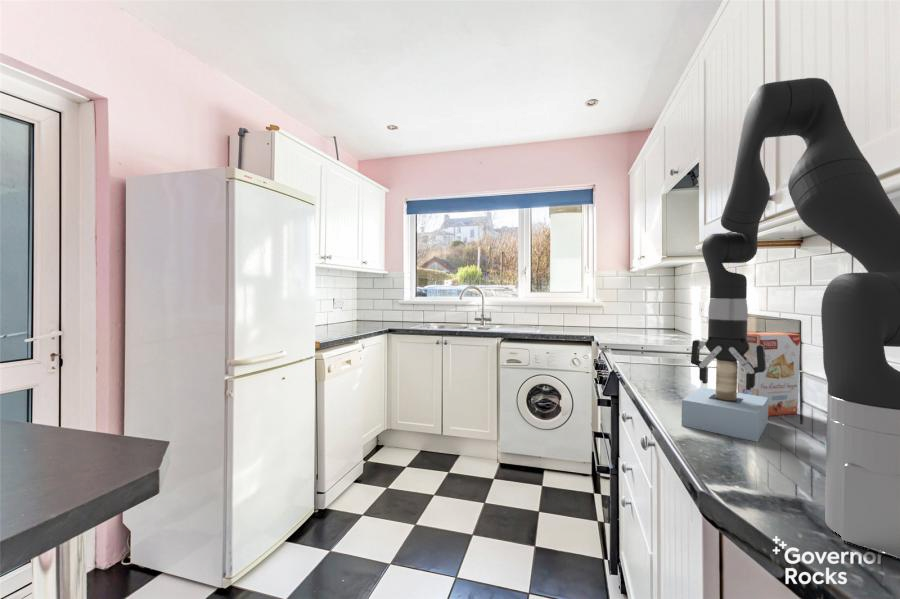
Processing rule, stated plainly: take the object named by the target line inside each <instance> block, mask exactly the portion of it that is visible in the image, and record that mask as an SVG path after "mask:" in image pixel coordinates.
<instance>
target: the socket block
mask: <svg viewBox="0 0 900 599" xmlns="http://www.w3.org/2000/svg"><path fill="white" fill-rule="evenodd" d="M715 396H716V388H715V389H714V388H707V387H701V386H700V387H699V388H697V389H696V390H695V391H693V392H692V393H690V394H689V395H687V396H686V397H684V398H682V400H681V426H682V427H687V428H690V429H691V428H692V429H696V430H700V429H701V430H700V431H706V432H710V433H715V434H718V435H719V434H720V435H724V436H728V437H734V438H737V439H742V440H748V441H752V442H759V440H760V438H761V436H762V434H763V433H764V431H765V429H766V427H767V425H768V424H769V416H768V399H769V397H762V396H756V395H749V394H742V393H738V392H737V401H736V403H732V402H726V401H720V400H716V398H715Z"/></svg>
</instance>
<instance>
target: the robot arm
mask: <svg viewBox="0 0 900 599" xmlns="http://www.w3.org/2000/svg"><path fill="white" fill-rule="evenodd" d="M742 122H743V123H742V126H741V127H742V128H741V133H740V139H739V144H738V149H737V155H736V161H735V168H734V174H733V178H732V179H733V180H732V183H731V188H730V191H729V194H728V197H727V200H726V202H725V207H724V209H723V211H722V215H721V219H720V224H721V227H722V228H723V229H725V230H726V231H729V232H726V233H725V232H724V233H722V232H721V233H718V232H717V233H711V234H709V235H708V236H706V238H704V240H703V242H702V245H701V252H702V257H703V260H704V263H705V265H706V269H707V272H708V276H709V287H710V288H709V289H710V291H709V293H710V294H709V302H708V304H709V305H708V319H707V320H708V321H707V322H708V323H707V324H708V326H707V340H706V341H704V340H703V341H702V340H700V339H694V340H693V341H692V344H691V353H690V364H692V365H695V366H697V367H698V368H699V376H698V377H699V381H702V384H705V385H706V384H708V383H709V382H708V380H709V367H708V365H710V363H711V362H712V361H714V359H716V360H717V359H718V360H721V361H722V360H727V361H731V362H734V361H737V363H738V364H739V363H740V364H741V365H742V366H743V367H744V368H745V369H746V370H747V372H748V373H747V374H746V390H751V388H753V387H754V386H755V374H756V373H759V372H764V371H765V370H766V362H765V347H764V345H749V344H748V342H747V333H748V319H749V313H748V310H749V309H748V308H749V307H748V301H747V294H748V293H747V290H748V288H747V287H748V286H747V285H748V280H747V277H746V275H745V274H742V273H737V272H733V271H729V270H727V269H726V268H725V266H724V264H744V263H745V264H746V263H747V262H750V261H751V260H753V259H754V257H756V254H757V251H758V234H759V227H760V222H761V220H762V216H763V215H764V212H765V210H766V208H767V205H768V203H769V200H770V196H771V187H770V186H771V185H770V183H769V179H768V177H767V174H766V172H765V170H764V167H763V164H762V160H761V151H762V150H761V149H762V147H763V143H764V141H765V139H767V138H777V137H788V136H798V137H800V138H802V140H803V141H804V142H805V144H806V145H805V146H806V148H805V151H804V152H803V153H802V155H801V157H800V158H799V160H798V161H797V163H796V164H795V166H794V168H793V169H792V170H791V171H792V172H791V174H790V176H789V178H788V182H787V183H788V184H787V187H788V193H789V196H790V199H791V201H792V203H793V206H794V208H795V210H796V213H797V215H798V216H799V218H800V219H801V221H802V222H803V223H804V224H805V225H806V226H807V227H808V228H809V229H811V230H812V231H813V232H814V233H816V234H817V235H819V236H820V237H822V238H823V239H824V240H826V241H828V242H830V243H831V244H833V245H835V246H837V248H838V247H839V249H841V250H843V251H844V252H846V253H847V254H849V255H850V256H852V257H853V258H854V259H855V260H857V261H858V262H859V264H860V265H862V266H863V268H864V269H865V270H866V272H848V273H843V274H840V275H837V276H836V277H834V278H833V279H831V281H830V282H829V283H828V285H826V286H827V287H826V288H825V290H824V293H823V295H822V301H821V311H820V312H821V314H820V316H821V317H820V318H821V320H820V322H821V333H822V334H821V335H822V336H821V337H822V359H823V360H822V361H823V369H824V374H825V377H826V380H827V406H826V407H827V409H826V411H827V412H826V414H827V415H826V444H825V447H826V448H825V449H826V451H825V454H826V455H825V490H824V492H825V496H824V497H825V499H824V500H825V502H824V504H825V505H824V507H825V508H824V509H825V510H824V512H825V513H824V515H825V516H824V523H825V525H826V526H827V527H828V528H829V529H830V530H831V531H833V533H835V532H836V533H837V535H838V534H839V535H840V536H841V537H840V536H839V535H838V536H839V537H840V540H841V539H842V540H845V541H848V542H851V543H854V544H858V545H861V546H866V547H869V548H875V549H878V550H881V551H884V552H887V553H890V554H892V555H895V556H897V557H899V558H900V370H897V369H896V368H894V367H893V366H892V365H890V364H889V362H888V361H887V356H886V353H885V347H890V348H891V347H892V348H895V347H896V348H897V347H898V348H899V347H900V213H899V212H898V210H897V208H896V207H895V206H894V204H893V202H892V201H891V199H890V197H889V196H888V195H887V194H888V193H886V190H885V189H884V186H883V185H882V182H881V181H880V179H879V177H878V175H877V174H876V172H875V171H874V169H873V168H872V166H871V164H870V163H869V162H868V160H867V159H866V158H865V156H864V154H863V153H862V151H861V150H860V148H859V146H858V144H857V143H856V141H855V139H854V137H853V136H852V133H851V132H850V129H849V128H848V126H847V123H846V121H845V118H844V116H843V112H842V110H841V108H840V104H839V101H838V99H837V97H836V94H835V92H834V89H833V88H832V86H831V85H830V83H829V82H828V81H827V80H825V79H823V78H820V77H806V78H796V79H789V80H788V79H787V80H781V81H772V82H768V83H767V82H766V83H764V84H762V85H760V86H759V87H757V89H756V90H755V91H754V92H753V93H752V95H751V97H750V99H749V102H748V104H747V107H746V110H745V112H744V118H743V121H742ZM704 347H706V348H707V350H708V351H709V352H710V353H709V354H708V355H707V356H706V357H705V358H704V359H703V360H700V351H701V350H702V349H704ZM749 349H750V350H752V351H753V354H755V355H757V367H753V365H752V364H751V363H750V362H749V360H748V359H747V358H746V357H745V355H744V354H745V353H746V352H747V351H748V350H749ZM836 533H835V534H836ZM842 540H841V541H842Z"/></svg>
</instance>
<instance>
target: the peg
mask: <svg viewBox="0 0 900 599" xmlns="http://www.w3.org/2000/svg"><path fill="white" fill-rule="evenodd" d="M715 377H716V378H715V389H716V396H715V398H716V400H720V401H726V402H732V403H736V401H737V393H738V361H734V362H731V361H727V360H722V361H721V360H718V359H716V376H715Z"/></svg>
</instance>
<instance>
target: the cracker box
mask: <svg viewBox="0 0 900 599" xmlns="http://www.w3.org/2000/svg"><path fill="white" fill-rule="evenodd" d="M747 342H748V344H749V345H764V347H765V362H766V370H765V371H764V372H759V373H756V374H755V386H754V387H753V388H751V390H746V374H747V373H748V372H747V370H746V369H745V368H744V367H743V366H742V365H741V364H740V363H739V362H738V366H737V393H742V394H749V395H756V396H762V397H769V399H768V417H770V416H783V415H793V414H794V415H795V414H796V415H797V414H798V406H799V405H798V401H799V382H800V381H799V378H800V355H801V354H800V353H801V334H799V333H794V332H793V333H792V332H790V333H789V332H776V331H775V332H769V331H768V332H767V331H765V332H760V331H759V332H747ZM744 355H745V357H746V358H747V359H748V360H749V362H750V363H751V364H752V365H753V367H757V355H755V354H753V351H752V350H750V349H749V350H748V351H747V352H746V353H745V354H744Z"/></svg>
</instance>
